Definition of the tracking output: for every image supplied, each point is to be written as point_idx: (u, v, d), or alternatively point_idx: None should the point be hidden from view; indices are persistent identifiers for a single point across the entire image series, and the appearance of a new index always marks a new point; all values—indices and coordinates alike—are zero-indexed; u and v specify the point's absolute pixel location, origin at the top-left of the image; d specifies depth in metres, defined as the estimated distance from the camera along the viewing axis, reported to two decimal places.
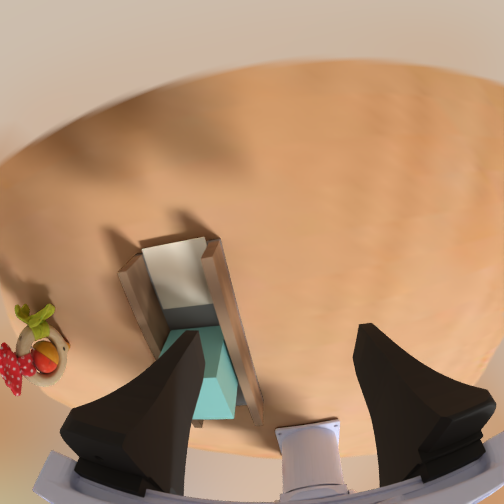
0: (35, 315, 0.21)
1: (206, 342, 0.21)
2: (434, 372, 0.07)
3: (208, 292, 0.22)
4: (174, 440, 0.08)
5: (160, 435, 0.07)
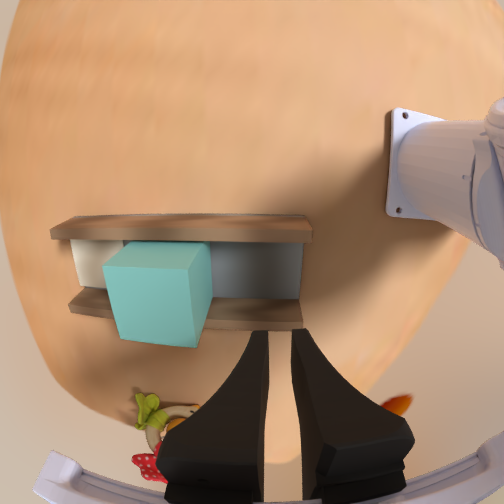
0: None
1: None
2: (351, 388, 0.07)
3: (111, 240, 0.20)
4: None
5: (261, 443, 0.07)
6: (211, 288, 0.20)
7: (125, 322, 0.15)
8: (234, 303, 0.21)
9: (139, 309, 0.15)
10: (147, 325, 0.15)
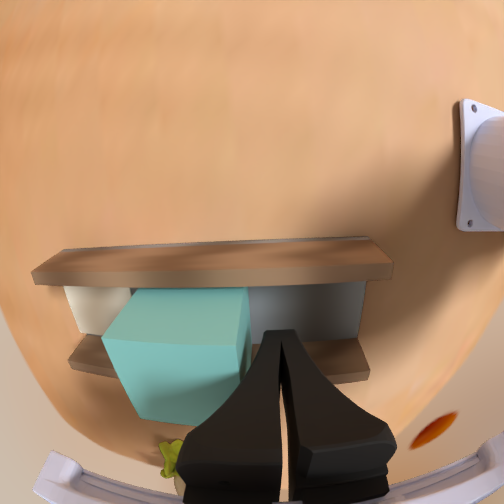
0: None
1: None
2: (334, 390, 0.07)
3: None
4: None
5: None
6: (251, 336, 0.15)
7: (145, 403, 0.10)
8: None
9: (164, 391, 0.10)
10: (177, 407, 0.10)
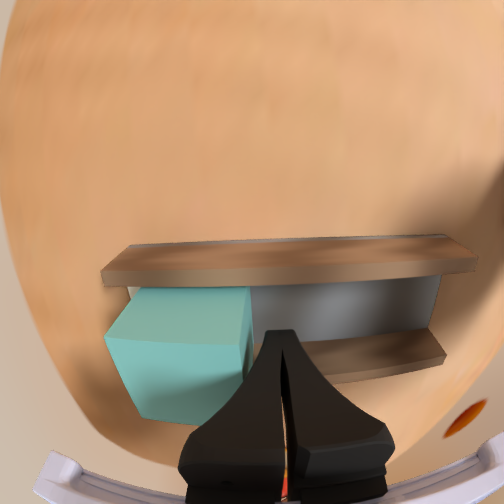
0: None
1: None
2: (332, 390, 0.07)
3: None
4: None
5: None
6: (252, 336, 0.15)
7: (147, 402, 0.10)
8: (368, 344, 0.15)
9: (166, 391, 0.10)
10: (179, 407, 0.10)
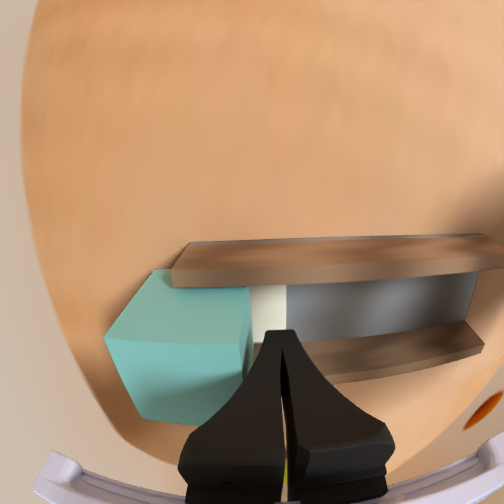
0: None
1: None
2: (333, 390, 0.07)
3: None
4: None
5: None
6: (252, 336, 0.15)
7: (147, 403, 0.10)
8: (418, 337, 0.15)
9: (166, 391, 0.10)
10: (179, 407, 0.10)
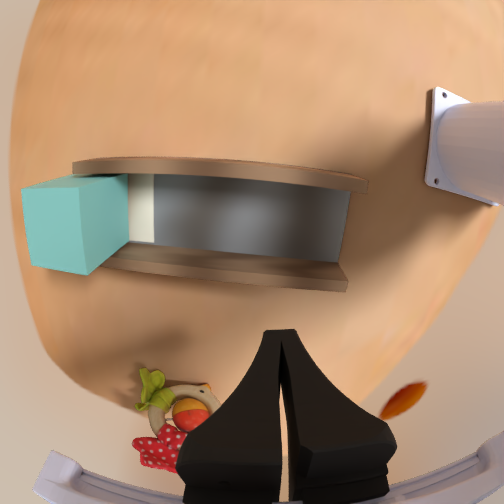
0: None
1: None
2: (334, 390, 0.07)
3: (140, 183, 0.18)
4: None
5: None
6: (126, 230, 0.19)
7: (34, 246, 0.13)
8: (272, 260, 0.19)
9: (44, 231, 0.13)
10: (50, 248, 0.13)
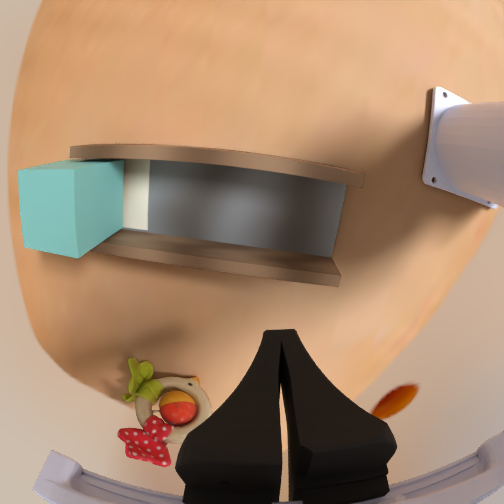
0: None
1: None
2: (334, 390, 0.07)
3: (136, 170, 0.18)
4: None
5: None
6: (120, 217, 0.19)
7: (28, 228, 0.13)
8: (265, 252, 0.19)
9: (38, 213, 0.13)
10: (43, 231, 0.13)
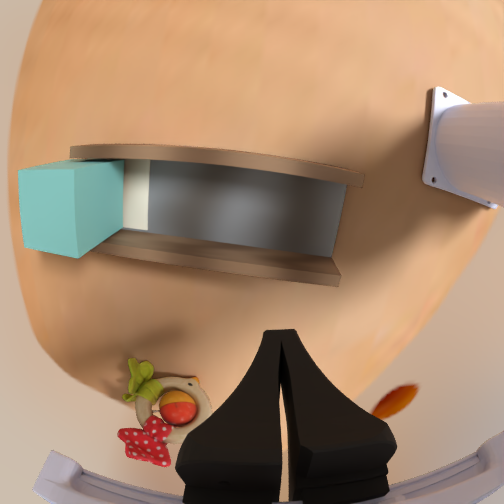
0: None
1: None
2: (334, 390, 0.07)
3: (136, 170, 0.18)
4: None
5: None
6: (120, 217, 0.19)
7: (28, 228, 0.13)
8: (265, 252, 0.19)
9: (38, 213, 0.13)
10: (43, 231, 0.13)
